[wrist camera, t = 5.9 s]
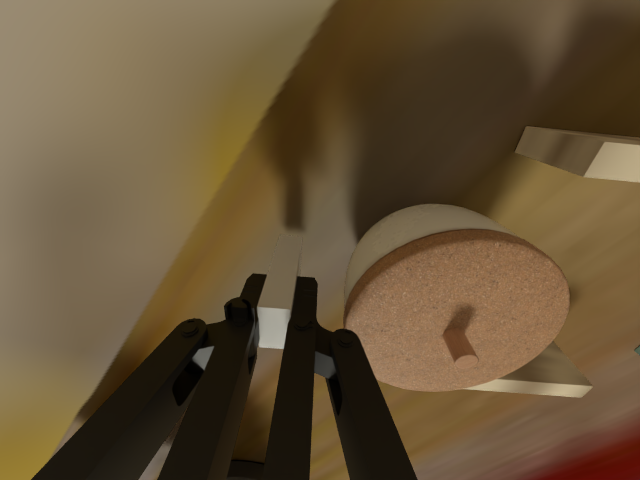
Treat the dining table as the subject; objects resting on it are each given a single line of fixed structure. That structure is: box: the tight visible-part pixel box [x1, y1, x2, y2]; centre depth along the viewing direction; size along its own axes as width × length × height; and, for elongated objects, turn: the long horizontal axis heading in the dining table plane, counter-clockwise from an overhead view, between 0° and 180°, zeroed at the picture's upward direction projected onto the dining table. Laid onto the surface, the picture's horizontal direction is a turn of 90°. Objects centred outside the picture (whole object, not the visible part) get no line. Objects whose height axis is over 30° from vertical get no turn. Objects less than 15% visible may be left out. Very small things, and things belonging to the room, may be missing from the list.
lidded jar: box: [343, 204, 570, 392], centre depth 16 cm, size 11×11×9 cm
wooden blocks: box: [464, 126, 640, 398], centre depth 18 cm, size 10×18×5 cm, turn 175°
